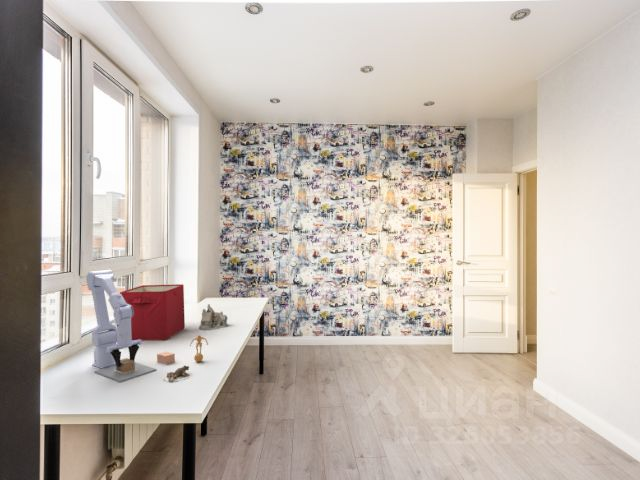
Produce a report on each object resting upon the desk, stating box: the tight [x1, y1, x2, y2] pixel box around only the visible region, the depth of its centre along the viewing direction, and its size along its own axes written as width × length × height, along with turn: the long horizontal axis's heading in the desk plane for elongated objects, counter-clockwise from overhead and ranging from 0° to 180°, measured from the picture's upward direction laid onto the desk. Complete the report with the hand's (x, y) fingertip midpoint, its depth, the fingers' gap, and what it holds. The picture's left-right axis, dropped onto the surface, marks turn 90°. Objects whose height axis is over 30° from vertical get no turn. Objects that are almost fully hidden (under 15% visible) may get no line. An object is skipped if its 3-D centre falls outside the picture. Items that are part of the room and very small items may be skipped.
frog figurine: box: [162, 365, 190, 384], centre depth 158 cm, size 12×12×4 cm
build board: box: [94, 362, 157, 383], centre depth 166 cm, size 22×16×1 cm
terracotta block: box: [156, 351, 176, 366], centre depth 177 cm, size 7×5×4 cm, turn 55°
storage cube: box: [119, 283, 186, 341], centre depth 230 cm, size 32×28×29 cm
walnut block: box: [116, 357, 135, 373], centre depth 166 cm, size 7×5×4 cm, turn 55°
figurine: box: [189, 335, 209, 363], centre depth 177 cm, size 8×6×12 cm
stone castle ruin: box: [198, 303, 228, 331], centre depth 245 cm, size 16×16×15 cm
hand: (125, 364), depth 166 cm, fingers open, 5 cm apart
